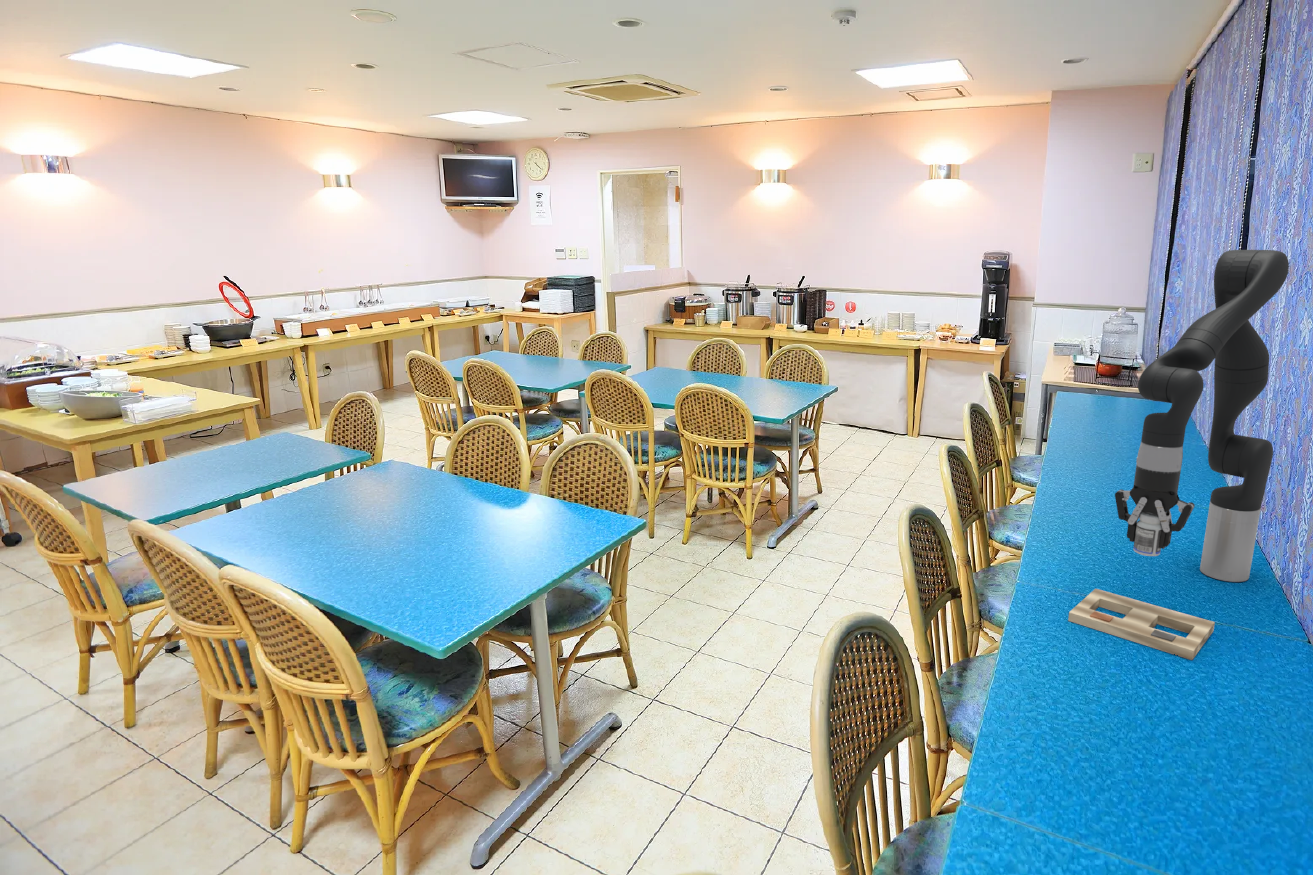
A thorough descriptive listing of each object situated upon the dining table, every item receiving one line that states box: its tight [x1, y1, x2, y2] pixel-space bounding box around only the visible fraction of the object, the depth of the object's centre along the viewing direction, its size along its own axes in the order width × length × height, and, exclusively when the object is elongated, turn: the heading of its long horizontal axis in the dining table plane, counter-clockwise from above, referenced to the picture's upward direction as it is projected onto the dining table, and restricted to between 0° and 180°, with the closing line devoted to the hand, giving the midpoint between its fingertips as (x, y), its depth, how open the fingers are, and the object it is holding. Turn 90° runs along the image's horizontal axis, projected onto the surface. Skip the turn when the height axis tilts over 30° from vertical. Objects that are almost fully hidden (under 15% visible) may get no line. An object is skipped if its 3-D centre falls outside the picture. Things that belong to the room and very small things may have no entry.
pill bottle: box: [1132, 512, 1163, 557], centre depth 153 cm, size 5×5×8 cm
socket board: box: [1067, 588, 1216, 661], centre depth 153 cm, size 15×22×2 cm
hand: (1147, 543), depth 154 cm, fingers closed on pill bottle, 4 cm apart
